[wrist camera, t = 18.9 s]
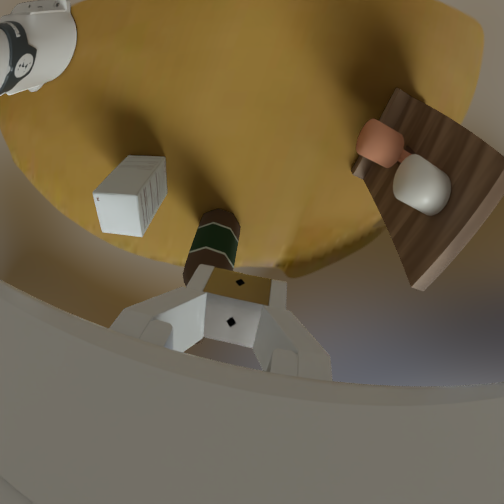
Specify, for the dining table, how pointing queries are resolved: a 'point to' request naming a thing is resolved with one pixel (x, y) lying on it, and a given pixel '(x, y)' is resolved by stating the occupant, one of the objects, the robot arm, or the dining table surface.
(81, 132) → the dining table surface
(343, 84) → the dining table surface
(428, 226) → the plug panel
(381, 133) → the terracotta plug
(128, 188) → the supplement box
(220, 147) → the dining table surface
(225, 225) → the beer bottle
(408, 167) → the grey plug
